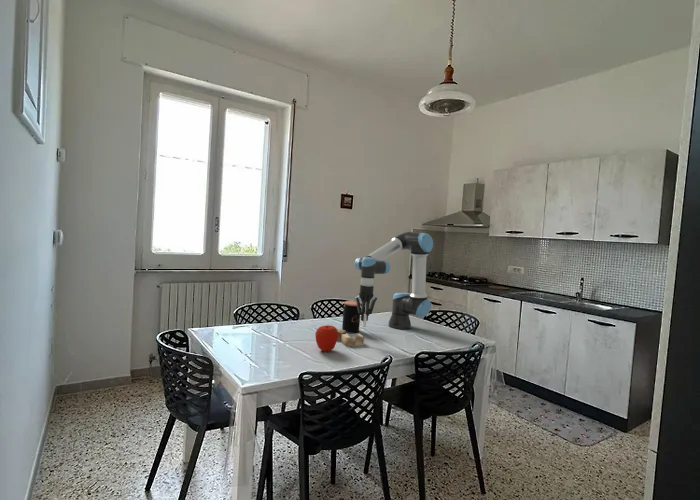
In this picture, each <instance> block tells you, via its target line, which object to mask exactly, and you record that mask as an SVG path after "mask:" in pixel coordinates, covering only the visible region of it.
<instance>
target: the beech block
mask: <svg viewBox="0 0 700 500" xmlns="http://www.w3.org/2000/svg"><path fill="white" fill-rule="evenodd" d="M340 342H341V344H342V345H343V346H344V347H353V346H355V347H357V346H364V342H365V336H364V335H362V334H361V333H346V334H342V339H341V341H340Z"/></svg>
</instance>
